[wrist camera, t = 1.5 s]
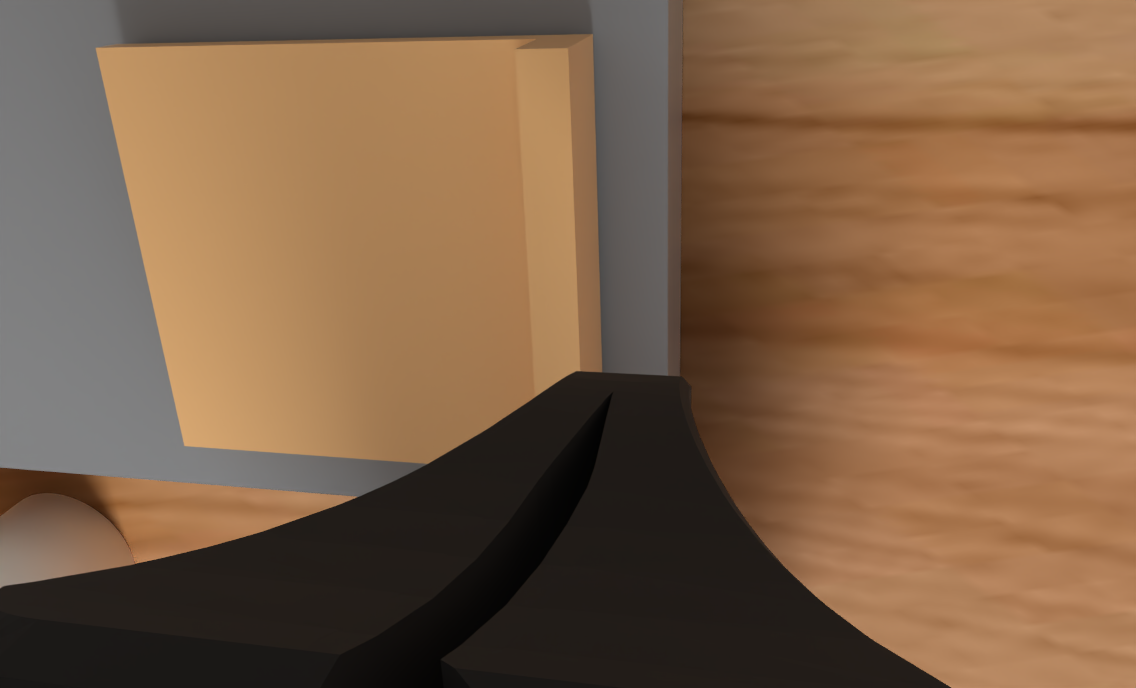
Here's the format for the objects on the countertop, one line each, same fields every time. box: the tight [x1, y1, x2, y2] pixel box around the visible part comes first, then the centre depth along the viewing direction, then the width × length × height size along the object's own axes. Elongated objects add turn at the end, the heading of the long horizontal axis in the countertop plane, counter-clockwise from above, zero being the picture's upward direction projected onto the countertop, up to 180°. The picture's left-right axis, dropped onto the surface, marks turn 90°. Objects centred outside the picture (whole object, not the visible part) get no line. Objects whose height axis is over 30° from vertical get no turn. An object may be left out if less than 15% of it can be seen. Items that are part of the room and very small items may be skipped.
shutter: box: [96, 34, 602, 464], centre depth 17 cm, size 9×8×2 cm
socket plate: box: [0, 0, 683, 497], centre depth 20 cm, size 19×11×2 cm, turn 92°
